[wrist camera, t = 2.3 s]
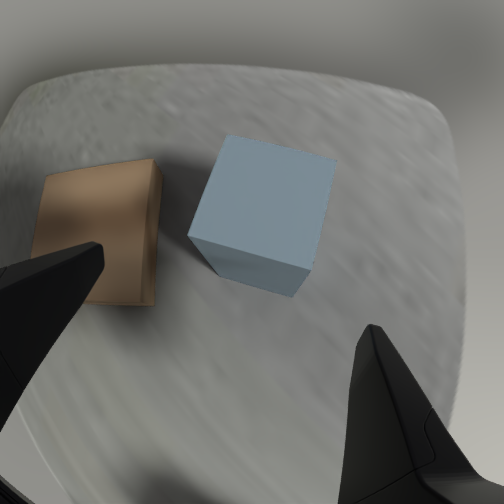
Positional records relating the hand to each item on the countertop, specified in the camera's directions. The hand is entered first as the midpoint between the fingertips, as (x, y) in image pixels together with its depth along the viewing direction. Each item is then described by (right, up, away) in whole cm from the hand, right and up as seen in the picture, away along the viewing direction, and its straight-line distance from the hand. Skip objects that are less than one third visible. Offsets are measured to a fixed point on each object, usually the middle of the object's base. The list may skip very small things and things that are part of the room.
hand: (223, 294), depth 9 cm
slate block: (+2, +1, +12) cm, 12 cm away
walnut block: (-11, +2, +13) cm, 17 cm away
